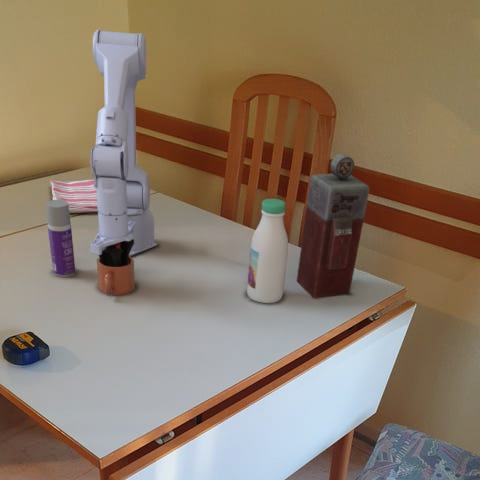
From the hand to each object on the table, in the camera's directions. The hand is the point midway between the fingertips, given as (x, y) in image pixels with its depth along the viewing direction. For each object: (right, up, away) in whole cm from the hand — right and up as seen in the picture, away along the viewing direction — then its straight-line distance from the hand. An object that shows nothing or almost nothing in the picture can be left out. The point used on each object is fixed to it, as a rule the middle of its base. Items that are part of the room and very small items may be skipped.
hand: (116, 275), depth 131 cm
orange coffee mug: (0, -3, 0) cm, 3 cm away
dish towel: (-17, +31, +42) cm, 55 cm away
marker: (0, -2, +1) cm, 2 cm away
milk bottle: (+31, -4, +3) cm, 32 cm away
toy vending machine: (+45, -1, +8) cm, 45 cm away
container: (-12, +2, +5) cm, 14 cm away
